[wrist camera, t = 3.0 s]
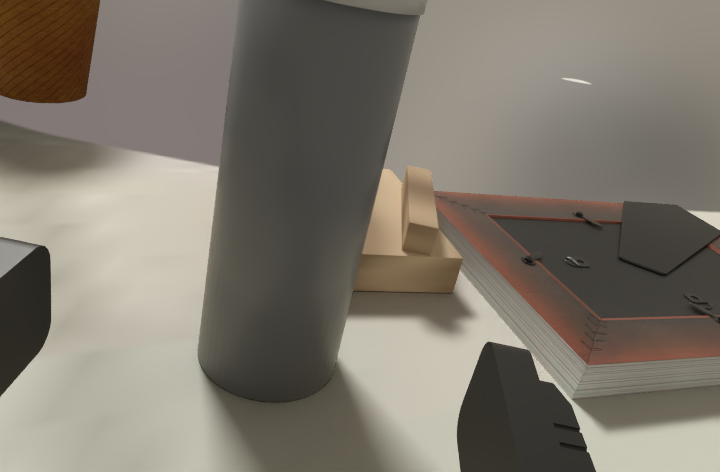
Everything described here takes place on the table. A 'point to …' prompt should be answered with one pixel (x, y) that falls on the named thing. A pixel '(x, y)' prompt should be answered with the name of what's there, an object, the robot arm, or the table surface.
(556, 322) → the picture frame
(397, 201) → the stand
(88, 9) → the disposable coffee cup
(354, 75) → the domed lid canister
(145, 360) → the table surface
